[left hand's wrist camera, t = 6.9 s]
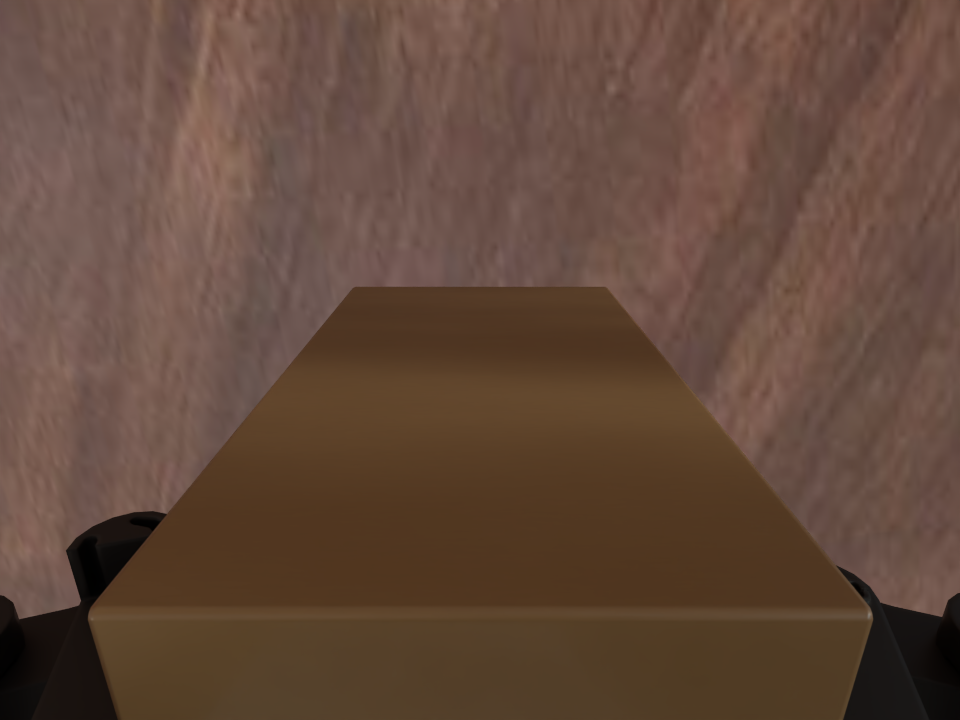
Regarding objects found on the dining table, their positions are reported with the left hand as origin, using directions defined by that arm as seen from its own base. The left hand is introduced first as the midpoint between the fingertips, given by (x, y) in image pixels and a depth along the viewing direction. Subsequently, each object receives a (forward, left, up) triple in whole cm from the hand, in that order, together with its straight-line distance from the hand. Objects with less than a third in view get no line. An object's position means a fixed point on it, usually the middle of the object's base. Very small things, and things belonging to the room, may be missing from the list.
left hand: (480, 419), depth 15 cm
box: (+8, +2, -1) cm, 8 cm away
